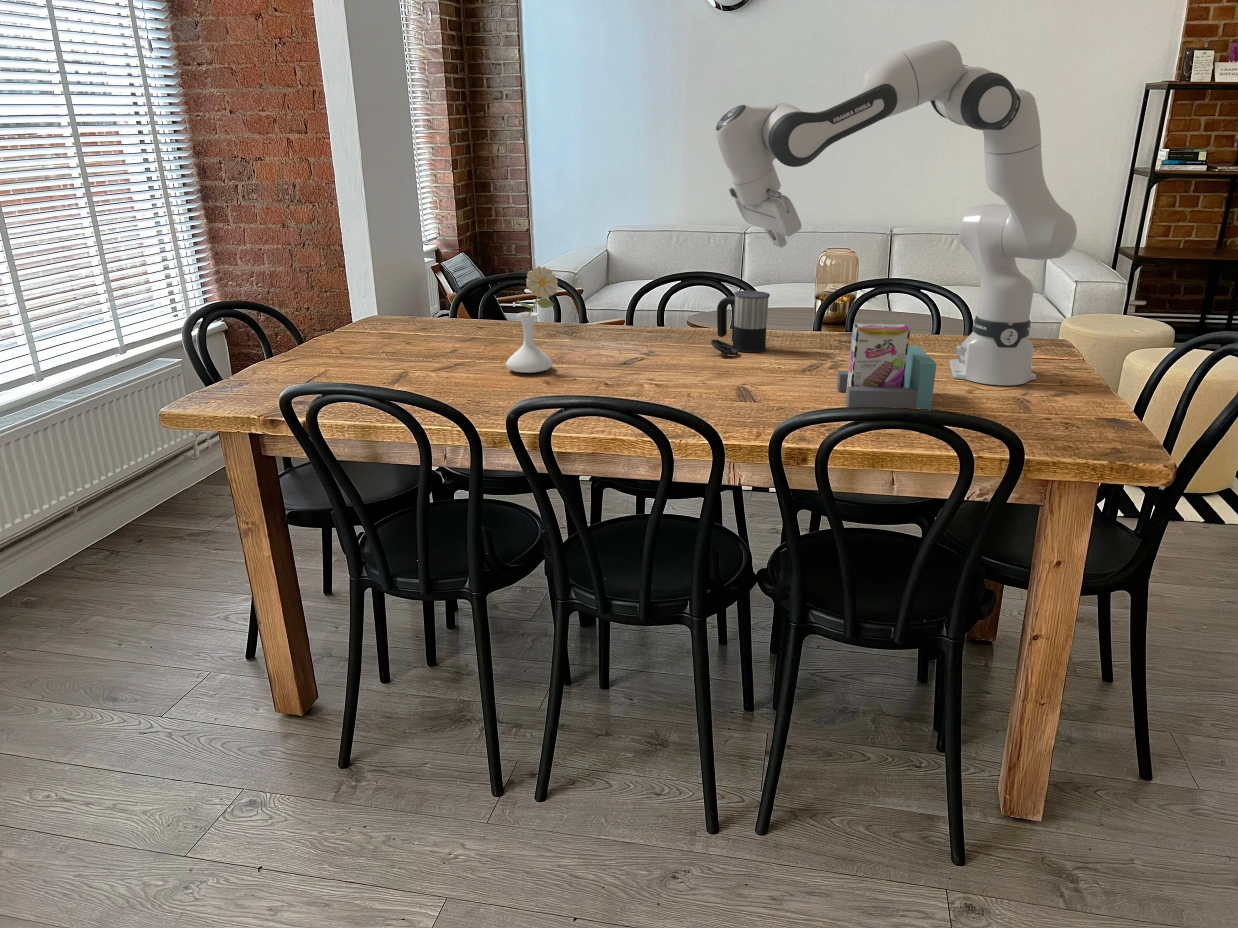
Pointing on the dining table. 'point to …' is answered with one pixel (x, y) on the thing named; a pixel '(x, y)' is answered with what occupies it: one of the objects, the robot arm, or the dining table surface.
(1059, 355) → the dining table surface
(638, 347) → the dining table surface
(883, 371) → the candy bar box
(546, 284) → the flower in vase
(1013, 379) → the robot arm
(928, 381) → the grey and teal stand
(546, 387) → the dining table surface
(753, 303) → the milk frother
